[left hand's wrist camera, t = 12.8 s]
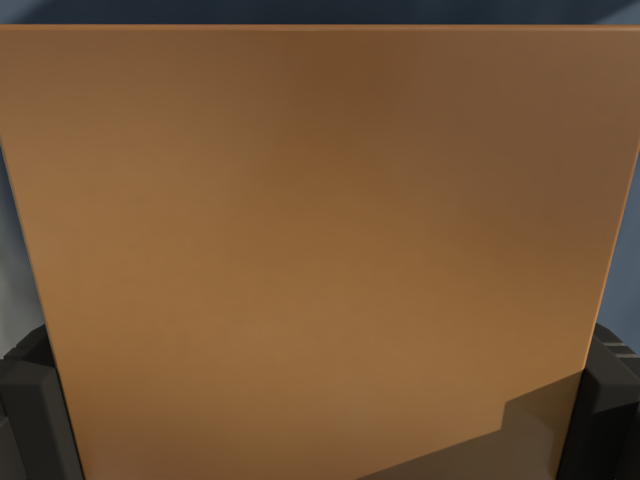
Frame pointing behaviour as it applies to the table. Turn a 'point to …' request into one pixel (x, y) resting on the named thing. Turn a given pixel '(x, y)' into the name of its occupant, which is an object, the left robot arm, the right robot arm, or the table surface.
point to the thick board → (320, 239)
